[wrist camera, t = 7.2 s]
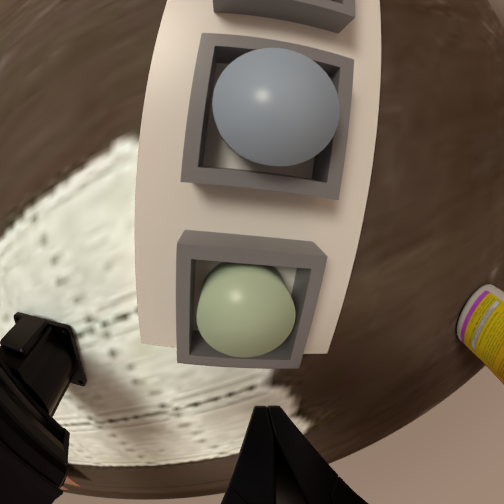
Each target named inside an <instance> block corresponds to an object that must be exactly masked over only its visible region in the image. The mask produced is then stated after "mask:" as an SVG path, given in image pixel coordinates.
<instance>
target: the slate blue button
mask: <svg viewBox="0 0 504 504" xmlns="http://www.w3.org/2000/svg"><path fill="white" fill-rule="evenodd" d="M212 107H213V115H214V119H215V122H216V125H217V128H218V130H219V133H220V135H221V137H222V139H223V140H224V142H225V143H226V144H227V145H228V147H229V148H230V149H231V150H232V151H234V152H235V153H236V154H237V155H239V156H241V157H242V158H244V159H246V160H248V161H251V162H254V163H258V164H264V165H269V166H290V165H295V164H299V163H302V162H305V161H307V160H309V159H311V158H313V157H314V156H316V155H317V154H319V153H320V152H321V151H322V150H323V149H324V148H325V147H326V146H327V145H328V144H329V142H330V141H331V139H332V138H333V136H334V134H335V132H336V129H337V126H338V122H339V117H340V105H339V99H338V94H337V91H336V89H335V86H334V84H333V83H332V81H331V79H330V78H329V76H328V75H327V73H326V72H325V71H324V70H323V69H322V68H321V67H320V66H319V65H318V64H317V63H316V62H314V61H313V60H311V59H310V58H308V57H306V56H305V55H303V54H300V53H298V52H295V51H292V50H288V49H283V48H263V49H258V50H253V51H251V52H248V53H245V54H244V55H242V56H240V57H238V58H237V59H235V60H234V61H233V62H231V63H230V64H229V65H228V66H227V67H226V68H225V70H224V71H223V72H222V74H221V75H220V77H219V79H218V81H217V83H216V86H215V88H214V93H213V100H212Z"/></svg>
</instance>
